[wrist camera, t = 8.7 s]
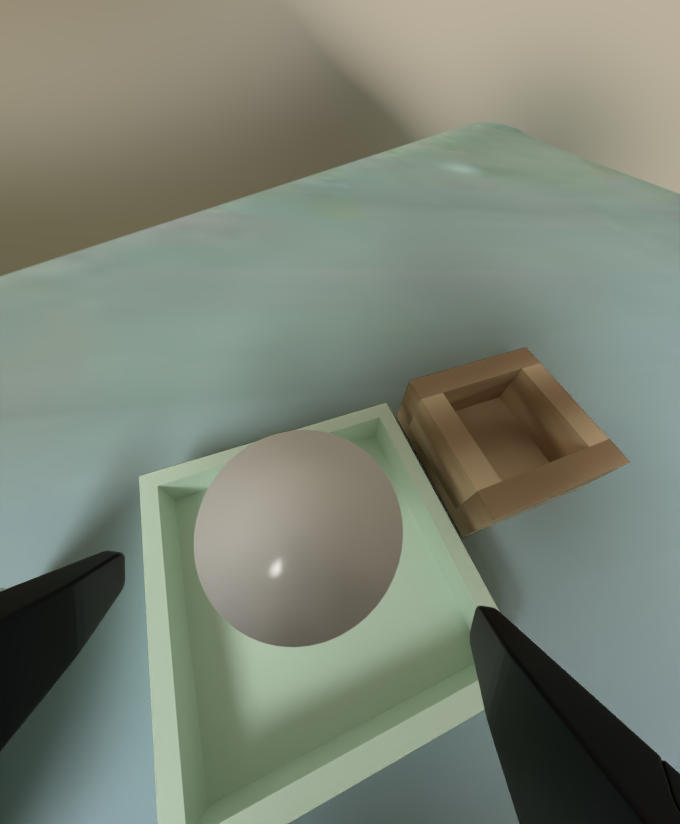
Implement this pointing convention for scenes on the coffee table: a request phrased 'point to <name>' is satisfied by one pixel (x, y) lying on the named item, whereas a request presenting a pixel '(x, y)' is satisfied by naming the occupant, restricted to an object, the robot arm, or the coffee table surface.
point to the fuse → (298, 538)
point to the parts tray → (302, 657)
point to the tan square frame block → (502, 438)
